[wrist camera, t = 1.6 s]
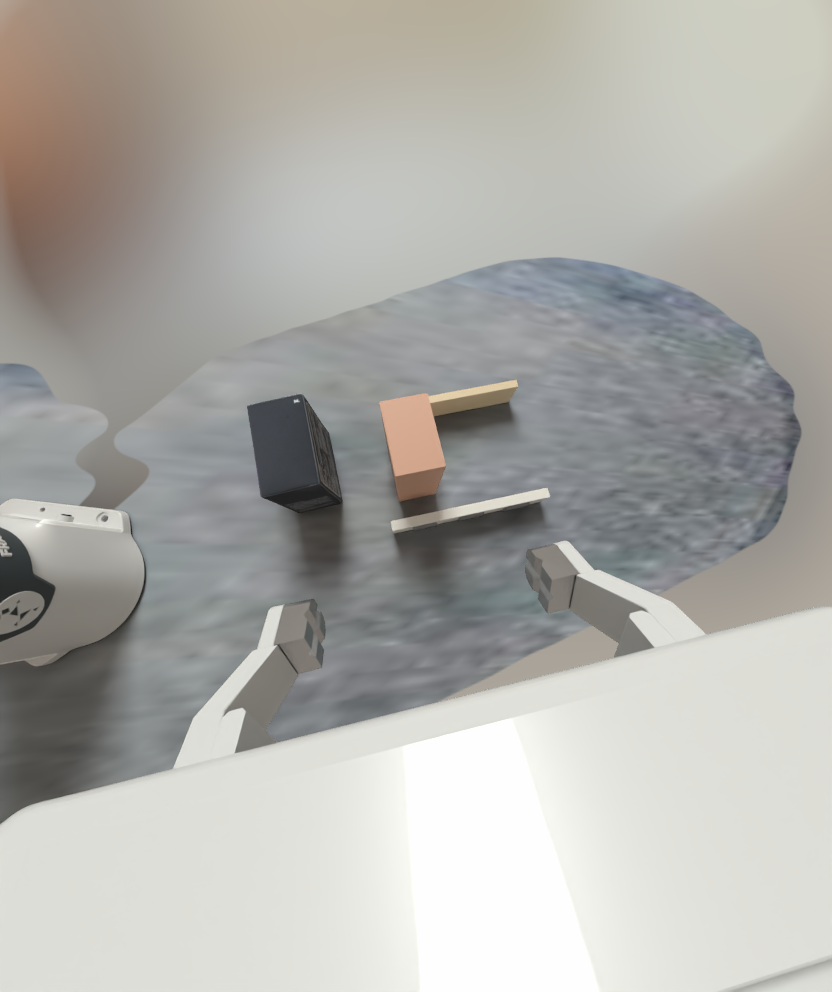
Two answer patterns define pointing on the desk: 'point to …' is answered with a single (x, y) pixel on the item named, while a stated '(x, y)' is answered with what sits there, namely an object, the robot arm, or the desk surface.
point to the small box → (293, 454)
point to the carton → (413, 445)
